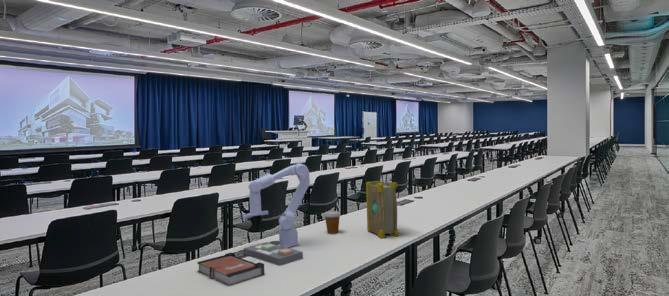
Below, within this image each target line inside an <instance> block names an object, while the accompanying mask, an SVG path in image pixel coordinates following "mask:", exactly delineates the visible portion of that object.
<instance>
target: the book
mask: <svg viewBox="0 0 669 296" xmlns="http://www.w3.org/2000/svg"><path fill="white" fill-rule="evenodd" d="M197 264H198V270H197V272H198V273H200V274H202V275H204V276H207V277H209V278H210V279H211V280H212V279H213V280H216V281H218V282H220V283H222V284H224V285H226V286H228V287H230V286H233V285H236V284H239V283H243V282H246V281H250V280H252V279H253V280H254V279H256V278H259V277H262V276H265V263H262V262H253V261H250V260H247V259H244V258H242V257H239V256H236V254H235V252H228V253H225V254H223V255H219V256H216V257H212V258H208V259H203V260H200V261H197Z"/></svg>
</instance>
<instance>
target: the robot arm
mask: <svg viewBox="0 0 669 296" xmlns="http://www.w3.org/2000/svg"><path fill="white" fill-rule="evenodd" d="M288 175H291V176H296V177H297V178H298V181H299V182H298V186H297V187H296V190H295V192H294V194H293V196H292V198H291V200H290V202H289V204H288V206H287V207H286V209H285V211H284V212H283V214H282V215H280V217H279V218H278V224H279V225H280V226H279V228H278V235H279V236H278V237H279V239H278V240H279V241H278V242H279V243H278V244H277V245H279V246H283V247H287V248H291V247H295V246H299V245H300V244H299V239H298V238H299V236H298V235H299V234H298V233H299V232H298V230H297V229H298V228H296V227H293V225H294V220H295V216H296V215H295V214H296V213H297V210H298V208H299V207H300V204H301V203H302V201H303V199H304V196H305V194H306V192H307V190H308V188H309V186H310V184H311V180H310V170H309V169H308V167H307V165H306V164H303V163H301V162H298V163H295V164H292V165H289V166H287V167H285V168H283V169H281V170H279V171H278V172H276V173H273V174H270V173H265V174H264V175H263V176H262V177H260V178H255V180H252V181H250V182H249V184H248V189H249V193H248V194H249V195H248V196H249V197H248V198H249V212H248V213H246V214H245V213H244V214H242V220H247V219H248V220H249V221H250V223H251V225H252V226H253V230H254V231H255V232H258V231H259V230H260V225H261V223H262V220H263V216H265V215H266V216H267V215H269V210H262V198H261V190H264V189H266V188H269V187H270V186H272V185H274V184H275V182H276V180H279V179H282V178H284V177H287V176H288Z"/></svg>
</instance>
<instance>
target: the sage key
mask: <svg viewBox="0 0 669 296" xmlns="http://www.w3.org/2000/svg"><path fill="white" fill-rule="evenodd" d="M272 244H273V243H272ZM272 244H267V245H263V246H261V249H262V250H265V251H269V250H273V249H275V245H276V244H275V245H272Z"/></svg>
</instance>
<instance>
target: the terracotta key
mask: <svg viewBox="0 0 669 296" xmlns="http://www.w3.org/2000/svg"><path fill="white" fill-rule="evenodd" d="M290 249H291V248H290ZM290 249H282V250H279V251H278V254H279V255H283V256H286V255H290V254H293V250H290Z"/></svg>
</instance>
